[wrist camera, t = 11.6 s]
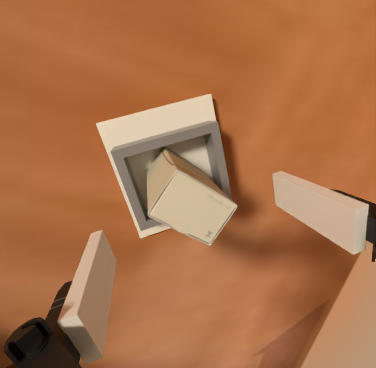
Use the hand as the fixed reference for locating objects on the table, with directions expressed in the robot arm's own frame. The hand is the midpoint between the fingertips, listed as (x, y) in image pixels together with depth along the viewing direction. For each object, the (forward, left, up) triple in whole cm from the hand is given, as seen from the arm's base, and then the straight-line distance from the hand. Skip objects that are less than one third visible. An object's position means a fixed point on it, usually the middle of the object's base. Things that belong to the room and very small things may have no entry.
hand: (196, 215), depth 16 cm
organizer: (0, 0, -14) cm, 14 cm away
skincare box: (0, 0, -13) cm, 13 cm away
